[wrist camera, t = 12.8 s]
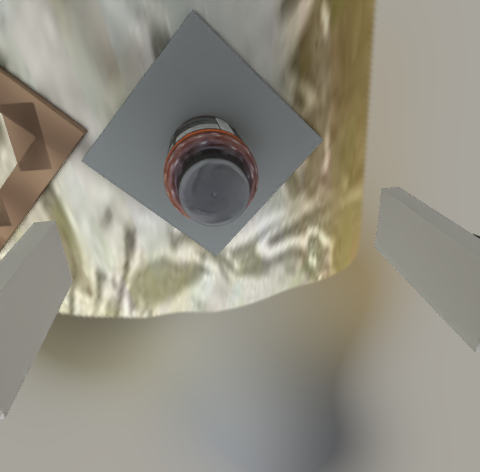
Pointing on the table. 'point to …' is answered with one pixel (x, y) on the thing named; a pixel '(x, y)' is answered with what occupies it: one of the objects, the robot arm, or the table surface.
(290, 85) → the table surface
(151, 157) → the slate pad
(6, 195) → the socket board
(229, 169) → the supplement bottle
